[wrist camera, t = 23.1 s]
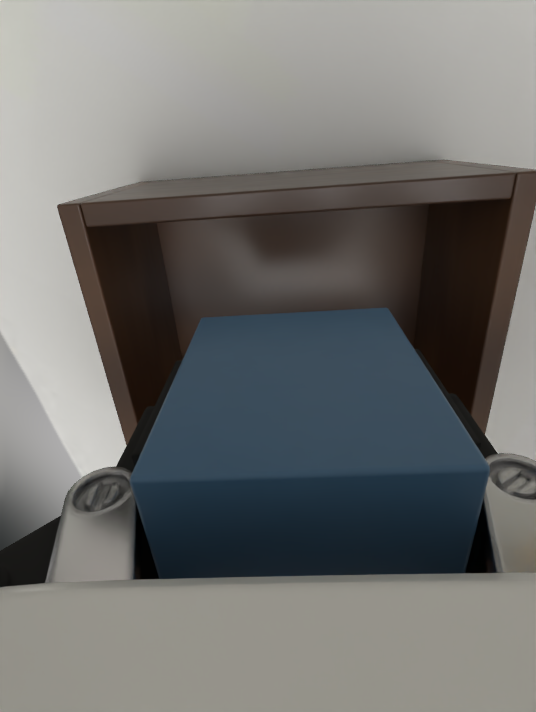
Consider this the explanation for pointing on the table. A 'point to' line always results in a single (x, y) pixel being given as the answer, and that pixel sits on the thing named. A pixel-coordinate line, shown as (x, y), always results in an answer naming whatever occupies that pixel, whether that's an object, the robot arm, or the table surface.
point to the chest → (305, 263)
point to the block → (307, 454)
